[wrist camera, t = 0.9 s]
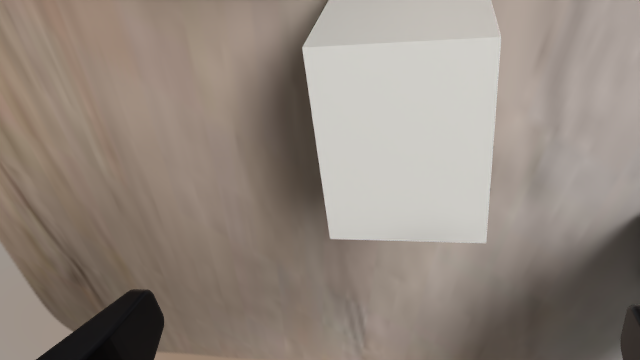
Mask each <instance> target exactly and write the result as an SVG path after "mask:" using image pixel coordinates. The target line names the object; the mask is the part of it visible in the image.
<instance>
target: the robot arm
mask: <svg viewBox="0 0 640 360" xmlns="http://www.w3.org/2000/svg"><path fill="white" fill-rule="evenodd" d="M163 328H164V316H163V313H162V311H161V309H160V307H159V305H158V303H157V301H156V298H155V296H154V294H153V293H152V292H151V291H150V290H142V289H133V290H130V291H128V292H127V293H126V294H124V295H123V296H121V297H120V298H119V299H117V300H116V301H115V302H113V303H112V304H111V305H109V306H108V307H107V308H105V309H104V310H103V311H101V312H100V313H98V314H97V315H96V316H94V317H93V318H92V319H90V320H89V321H88V322H86V323H85V324H84V325H82V326H81V327H80V328H78V329H77V330H75V331H74V332H73V333H71V334H70V335H69V336H67V337H66V338H65V339H63V340H62V341H61V342H59V343H58V344H56V345H55V346H54V347H52V348H51V349H50V350H48V351H47V352H46V353H44V354H43V355H42V356H40V357H39V358H38V359H36V360H154V358H155V354H156V351H157V348H158V344H159V341H160V338H161V335H162V331H163ZM621 351H622V356H623V360H640V305H631V306H629V308H628V309H627V312H626V317H625V321H624V325H623V329H622V334H621Z"/></svg>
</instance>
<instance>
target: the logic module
mask: <svg viewBox="0 0 640 360" xmlns="http://www.w3.org/2000/svg"><path fill="white" fill-rule="evenodd" d="M500 47H501V34H500V31H499V27H498V23H497V20H496V16H495V13H494V9H493V5H492V2H491V0H328V2H327V4H326V6H325V8H324V9H323V11H322V13H321V15H320V17H319V18H318V20H317V22H316V24H315V25H314V27H313V29H312V31H311V33H310V34H309V36H308V38H307V40H306V41H305V43H304V45H303V47H302V50H303V57H304V64H305V71H306V78H307V84H308V91H309V98H310V105H311V112H312V119H313V125H314V132H315V139H316V146H317V153H318V160H319V166H320V173H321V180H322V187H323V194H324V201H325V207H326V214H327V221H328V228H329V235H330V239H349V240H385V241H422V242H458V243H486V238H487V224H488V210H489V197H490V183H491V169H492V156H493V142H494V128H495V115H496V101H497V88H498V74H499V60H500Z"/></svg>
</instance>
